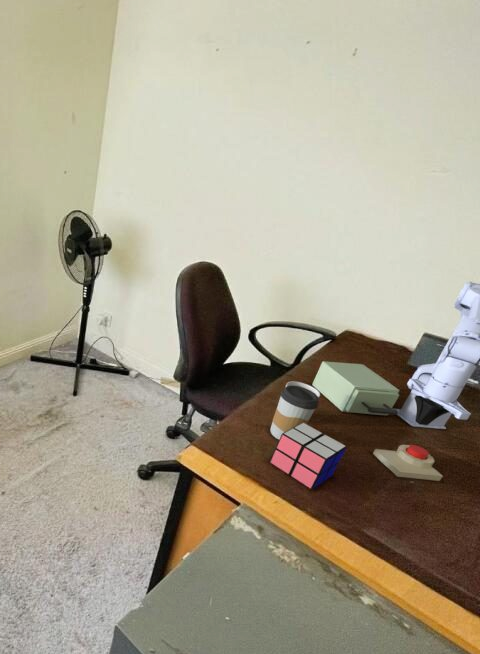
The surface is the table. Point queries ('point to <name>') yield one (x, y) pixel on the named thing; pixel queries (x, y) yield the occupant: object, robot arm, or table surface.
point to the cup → (304, 387)
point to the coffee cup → (293, 409)
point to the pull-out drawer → (373, 402)
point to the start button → (417, 452)
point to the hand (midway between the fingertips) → (421, 423)
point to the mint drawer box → (347, 382)
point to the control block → (408, 464)
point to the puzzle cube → (307, 455)
